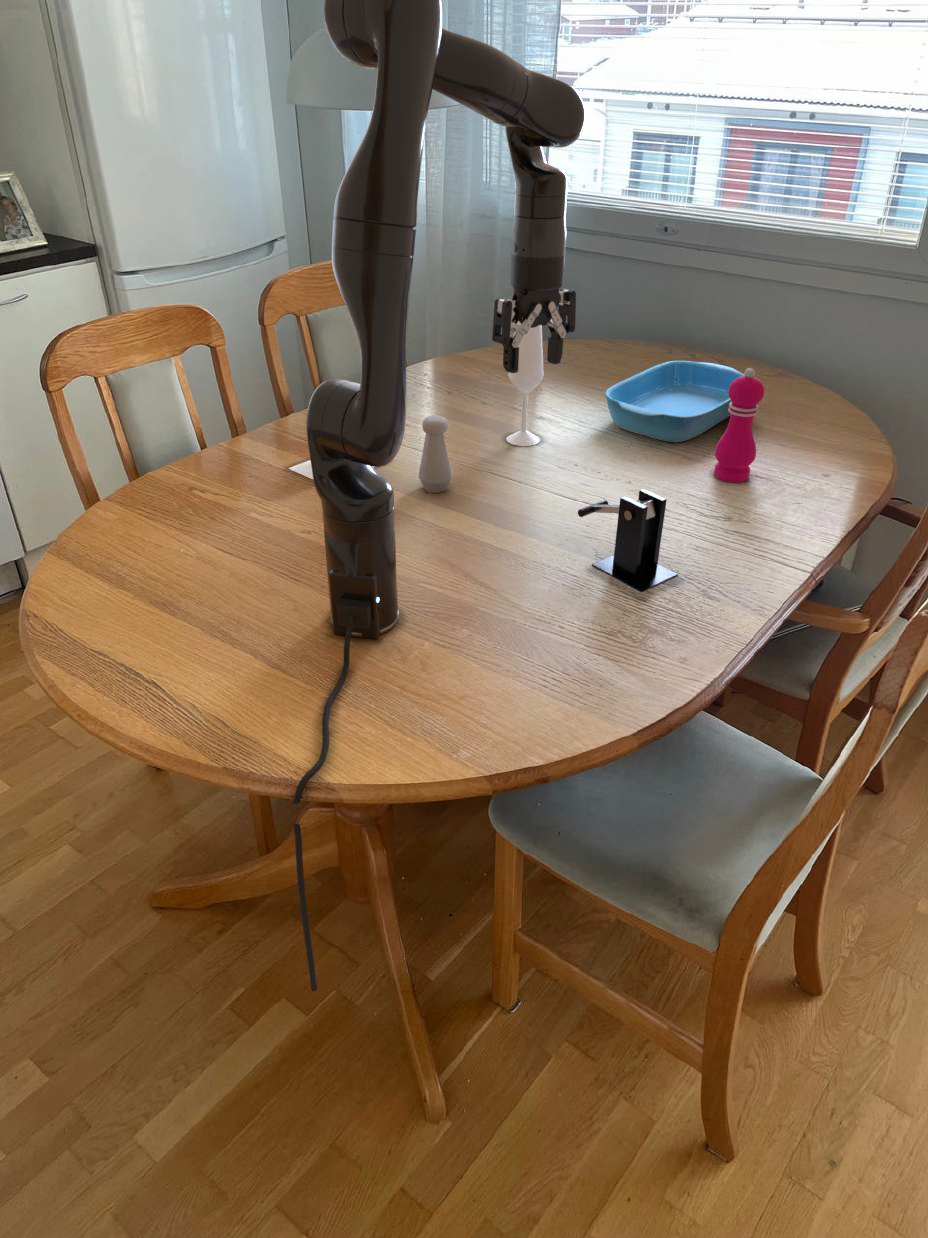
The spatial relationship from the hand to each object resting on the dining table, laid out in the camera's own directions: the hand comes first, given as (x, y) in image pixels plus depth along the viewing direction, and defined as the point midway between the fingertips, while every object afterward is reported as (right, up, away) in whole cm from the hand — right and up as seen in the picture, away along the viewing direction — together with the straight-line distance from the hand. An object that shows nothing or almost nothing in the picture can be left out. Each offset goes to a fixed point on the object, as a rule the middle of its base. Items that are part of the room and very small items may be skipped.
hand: (532, 367), depth 136 cm
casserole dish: (+35, +5, +58) cm, 68 cm away
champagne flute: (+2, -2, +47) cm, 47 cm away
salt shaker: (-15, -14, +27) cm, 34 cm away
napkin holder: (-34, -9, +36) cm, 50 cm away
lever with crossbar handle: (+13, -22, 0) cm, 26 cm away
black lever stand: (+15, -31, +2) cm, 34 cm away
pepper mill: (+39, -11, +33) cm, 52 cm away
